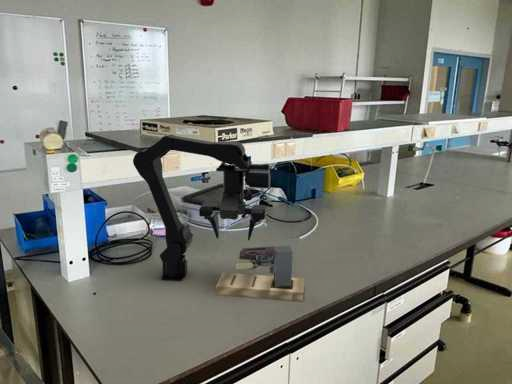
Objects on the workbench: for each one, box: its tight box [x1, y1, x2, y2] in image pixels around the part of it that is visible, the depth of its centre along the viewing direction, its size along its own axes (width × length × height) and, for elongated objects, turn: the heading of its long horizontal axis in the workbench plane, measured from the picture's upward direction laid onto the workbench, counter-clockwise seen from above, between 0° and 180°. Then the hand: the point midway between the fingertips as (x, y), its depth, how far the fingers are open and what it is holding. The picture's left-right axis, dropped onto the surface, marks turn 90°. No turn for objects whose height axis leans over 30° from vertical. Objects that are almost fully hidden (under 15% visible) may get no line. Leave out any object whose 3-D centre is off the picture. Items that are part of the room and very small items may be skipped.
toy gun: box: [235, 245, 275, 274], centre depth 140 cm, size 18×5×15 cm
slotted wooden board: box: [215, 272, 305, 302], centre depth 121 cm, size 24×9×3 cm, turn 83°
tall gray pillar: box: [272, 245, 293, 289], centre depth 119 cm, size 4×4×13 cm
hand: (233, 239), depth 124 cm, fingers open, 9 cm apart
